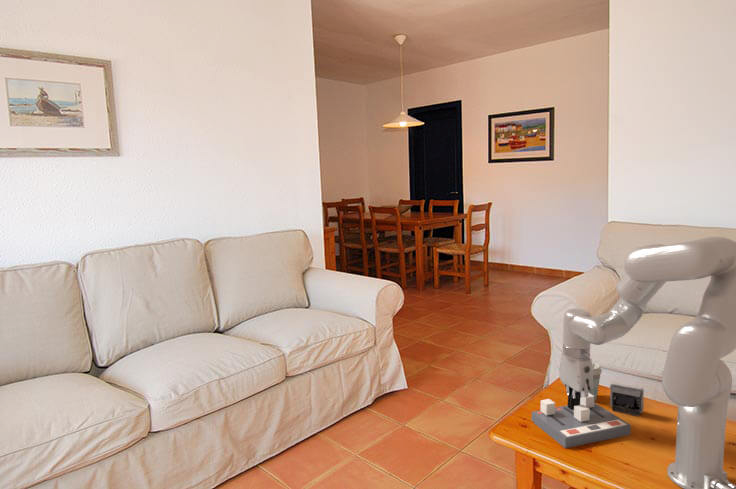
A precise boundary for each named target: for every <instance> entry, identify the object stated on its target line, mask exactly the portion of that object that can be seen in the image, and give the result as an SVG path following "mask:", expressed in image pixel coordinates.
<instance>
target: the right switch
mask: <svg viewBox="0 0 736 489" xmlns="http://www.w3.org/2000/svg"><path fill="white" fill-rule="evenodd" d="M588 395H589V396H588V397H580V405H584V406H586V407H587V408H590V407H594V403H595V402H594V396H593V395H592V394H590V393H588Z"/></svg>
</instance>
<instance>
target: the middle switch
mask: <svg viewBox="0 0 736 489" xmlns="http://www.w3.org/2000/svg"><path fill="white" fill-rule="evenodd" d="M589 416H590V409H589V408H587V407H586V406H584V405H577V406H574V418H576V419H577V420H579V421H580V422H583V421H588V420H589Z"/></svg>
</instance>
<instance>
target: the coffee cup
mask: <svg viewBox="0 0 736 489" xmlns="http://www.w3.org/2000/svg"><path fill="white" fill-rule="evenodd" d="M592 366H593V390H592V391H590V390H588V393H590V394H592V395H593V396H594V403H596V402H597V397H598V394H599V393H598V391H599V385H600V379H601V374H602V372H603V371H602V368H601V365H600V364H599V363H597V362H595V361H592ZM577 392H578V391H577Z"/></svg>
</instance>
